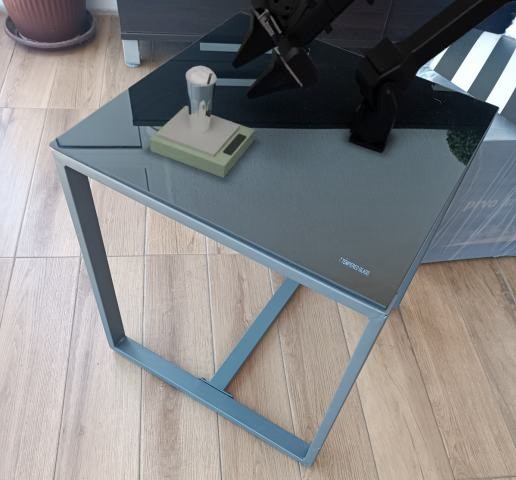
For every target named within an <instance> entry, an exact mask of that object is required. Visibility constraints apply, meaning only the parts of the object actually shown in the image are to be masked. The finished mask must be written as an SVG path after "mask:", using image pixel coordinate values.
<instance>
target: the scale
mask: <svg viewBox="0 0 516 480" xmlns="http://www.w3.org/2000/svg"><path fill="white" fill-rule="evenodd" d="M255 133H256V129H254V128H251V127H248V126H245V125H242V124H239V123H236V122H234V121H231V120H227V119H225V118H222V117H220V116H217V115H213V114H212V115H211V123H210V128H209V131H207V132H205V133H197V132H195V131H192V129H191V128H190V125H189V109H188V105H185V106H183V107H182V108H181V109H180V110H179V111H178V112H177V113H176V114H175V115H173V116H172V118H170V120H169V121H167V122H166V123H165V124H164V125H163V126H162V127H161V128H160V129H158V130H157V131H155V133H154V134H153V135H152V136H151V137H149V146H150V147H149V149H150V152H152V153H154V154H158V155H160V156H163V157H166V158H168V159H171V160H174V161H176V162H179V163H182V164H185V165H187V166H190V167H192V168H195V169H198V170H201V171H203V172H206V173H209V174H212V175H214V176H217V177H219V178H222V179H224V178H225V177H226V176H227V174H228V173H229V172H230V171H231V170H232V169H233V167H234V166H235V165H236V164H237V162H238V161H239V160H240V159H241V158H242V157H243V155H244V154H245V153H246V151H247V150H248V149H249V148H250V147H251V145H252V144H253V143H254V140H255Z"/></svg>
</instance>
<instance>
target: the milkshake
mask: <svg viewBox="0 0 516 480" xmlns="http://www.w3.org/2000/svg"><path fill="white" fill-rule="evenodd" d="M217 80H218V79H217V75H216V74H215V72H214V71H213V70H212V69H211V68H209V67H207V66H204V65H196V66H193V67H191V68H189V69H188V70H187V71H186V73H185V82H186V91H187V92H186V93H187V106H188V109H189V125H190V128H191V129H192V131H195V132H197V133H205V132H207V131H209V128H210V123H211V115H213V108H214V107H213V105H214V98H215V92H216V85H217Z"/></svg>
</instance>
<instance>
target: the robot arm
mask: <svg viewBox="0 0 516 480" xmlns="http://www.w3.org/2000/svg"><path fill="white" fill-rule="evenodd" d="M355 1H356V0H251V1H250V4H251V6H252V8H253V9H254V10H255V11H254V10H253V9H252V8H250V9H249V15H250V16H249V17H250V18H249V19H250V23H249V29H248V31H247V33H246V35H245V37H244V39H243V41H242V43H241V45H240V46H239V48H238V50H237V52H236V54H235V56H234V57H233V59H232V61H231V65H232V66H233V68H234V69H235V70H236V69H239V68H241V67H243V66H245V65H247V64H248V63H250V62H252V61H254V60H256V59H257V58H259V57H261V56H263V55H264V54H267V53H269V52H270V51H271V54H270V61H269V64H268V66H266V68H265V69H264V70H263V71H262V72H261V74H260V75H259V76H258V77H257V78H256V79H255V80H254V81H253V82H252V84H251V85H250V86H249V87H248V89H247V90H246V91H245V93H244V94H245V96H246V97H247V99H248V100H254V99H257V98H261V97H265V96H267V95H271V94H275V93H278V92H282V91H287V90H292V89H293V90H294V89H297V90H301V89H302V86H303V88H304V90H306V91H309V89H310V88H311V87H313V86H314V85H315V84H316V83H317V82H318V80H319V76H320V70H319V69H318V67H317V65H316V64H315V62H314V61H313V59H312V58H311V56H310V55H309V53H310V52H311V49H309V47H308V46H309V45H310V44H311V43H312V42H313V41H314V40H315V39H316V38H317V37H318V36H319V35H320V34H322V33H323V31H324V32H325V34H326V35H329V34H331V32H332V31H334V28H333V27H332V25H331V24H332V23H333V22H334V21H335V20H336V19H337V18H339V17H340V15H342V14H343V13H344V12H345V11H346V10H347V9H349V7H350V6H352V4H353V3H355ZM365 1H366V3H367V4H368V5H369V6H373V5H374V4H375V0H365ZM515 2H516V0H454V1H453V2H451V3H449V4H448V5H447V6H446V7H445V8H444V9H442V10H441V11H440V12H438V13H437V14H436V15H434V16H433V17H431V19H429V20H428V21H426V23H424V24H423V25H422V26H420V27H419V28H418V29H417V30H415V31H414V32H412V33H411V34H409V36H408V37H406V38H404V39H403V40H400V41H395V42H393V41H392V40H391V38H390V37H389V36H385V37H383V38H382V39H380V41H378V43H377V44H376V45H374V47H371V48H370V49H368V50H365V51H364V56H363V57H362V58H361V59H360V60H359V62H358V63H357V64H356V70H355V76H354V78H355V83H356V84H357V86H358V87H359V93H360V95H361V96H362V97H363V100H362V102H361V103H360V104H359V105H358V107H357V108H356V110H355V112H354V116H353V118H352V122H351V127H350V129H349V133H350V135H349V138H348V141H349V142H350V143H353V144H356V145H359V146H362V147H364V148H367V149H371V150H373V151H377V152H379V153H384V151H385V149H386V147H387V145H388V144H389V141H390V140H391V136H392V131H393V128H394V125H395V123H396V120H402V119H403V118H404V117H405V116H406V114H407V113H408V111H409V110H410V107H411V106H410V105H409V103H408V101H407V99H406V98H405V96H404V93H405V92H406V91H407V90H408V89H409V88H410V87H411V85H412V84H413V81H414V80H415V78H416V76H417V74H418V73H419V71H420V69H421V68H423V67H424V66H425V65H426V64H428V63H430V61H432V60H434V58H436V57H437V56H438V55H440V54H442V52H444V51H445V50H446V49H448V48H449V47H450V46H452V45H454V44H455V43H456V42H457V41H459V40H460V39H461V38H463V37H464V36H465V35H467V34H468V33H470V32H471V31H472V30H473V29H475V28H476V27H478V26H480V24H482V23H483V22H484V21H485V20H487V19H489V18H490V17H491V16H492V15H494V14H495V13H496V12H497V11H499V10H500V9H501V8H503V7H504V6H506V5H507V4H510V3H515ZM273 36H274V37H275V39H276V40H277V42H279V43H278V44H277V42H276V40H275V39H274V37H273ZM276 48H277V49H276ZM275 49H276V50H275ZM278 53H279V54H278Z"/></svg>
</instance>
